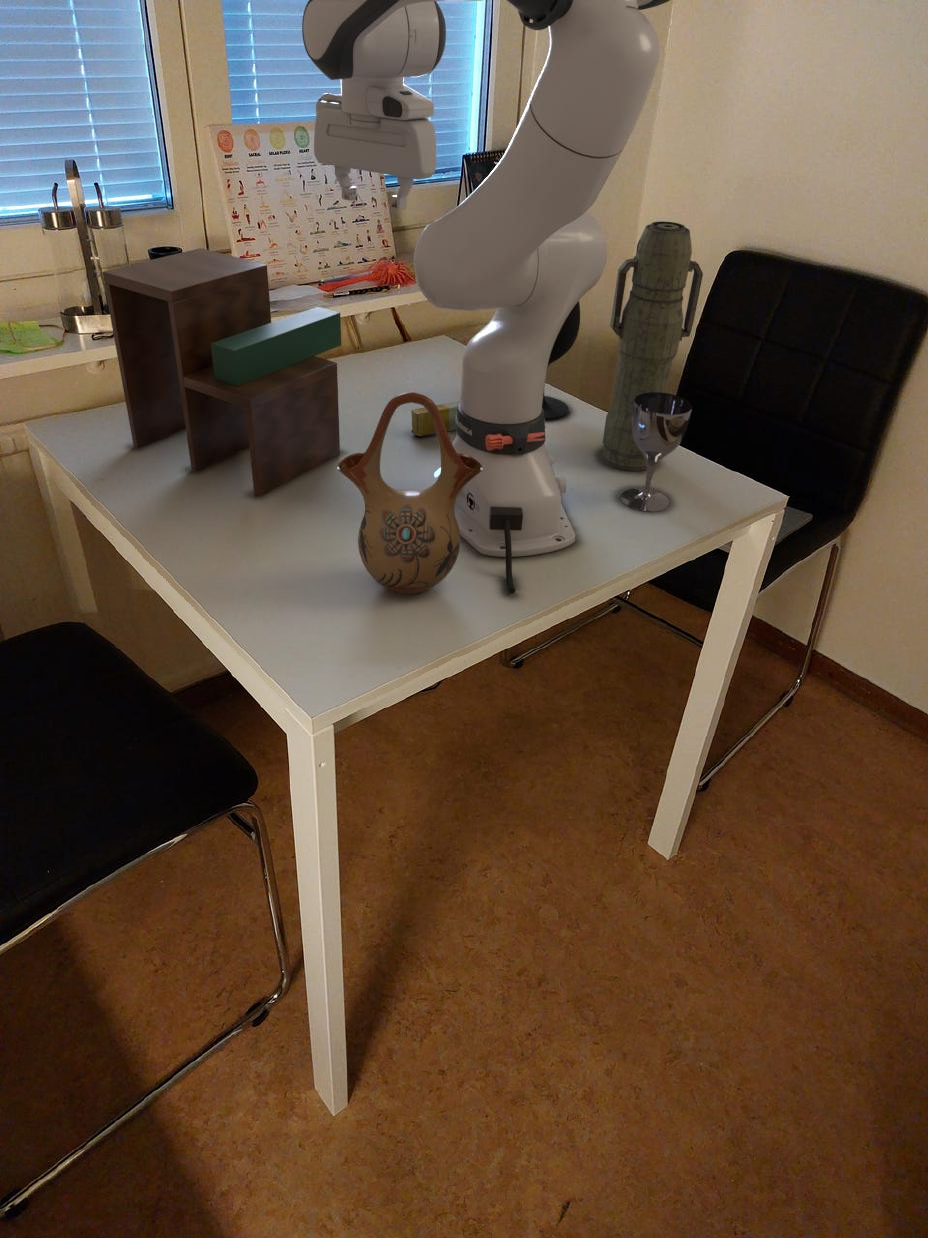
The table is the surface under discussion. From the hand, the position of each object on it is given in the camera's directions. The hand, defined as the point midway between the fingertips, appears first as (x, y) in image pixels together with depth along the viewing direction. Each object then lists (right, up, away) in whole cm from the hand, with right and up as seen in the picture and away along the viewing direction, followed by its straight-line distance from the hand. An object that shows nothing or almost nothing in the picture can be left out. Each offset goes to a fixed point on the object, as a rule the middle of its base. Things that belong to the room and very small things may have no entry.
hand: (373, 204), depth 134 cm
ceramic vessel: (+7, -59, -24) cm, 64 cm away
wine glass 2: (+40, -45, -3) cm, 60 cm away
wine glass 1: (+27, -25, +23) cm, 44 cm away
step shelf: (-21, -36, +4) cm, 42 cm away
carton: (-13, -25, -5) cm, 29 cm away
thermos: (+40, -37, +8) cm, 55 cm away
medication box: (+11, -31, +14) cm, 36 cm away
